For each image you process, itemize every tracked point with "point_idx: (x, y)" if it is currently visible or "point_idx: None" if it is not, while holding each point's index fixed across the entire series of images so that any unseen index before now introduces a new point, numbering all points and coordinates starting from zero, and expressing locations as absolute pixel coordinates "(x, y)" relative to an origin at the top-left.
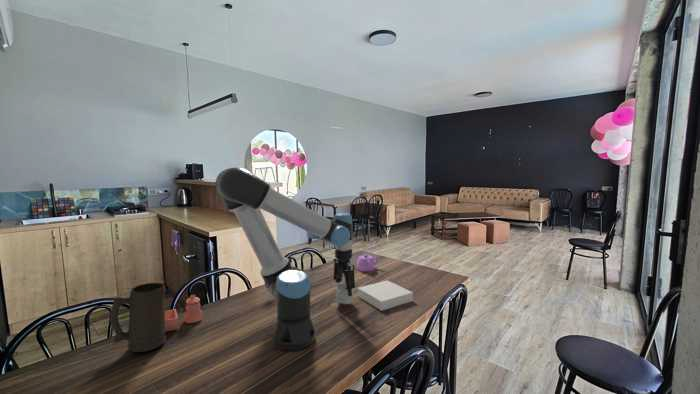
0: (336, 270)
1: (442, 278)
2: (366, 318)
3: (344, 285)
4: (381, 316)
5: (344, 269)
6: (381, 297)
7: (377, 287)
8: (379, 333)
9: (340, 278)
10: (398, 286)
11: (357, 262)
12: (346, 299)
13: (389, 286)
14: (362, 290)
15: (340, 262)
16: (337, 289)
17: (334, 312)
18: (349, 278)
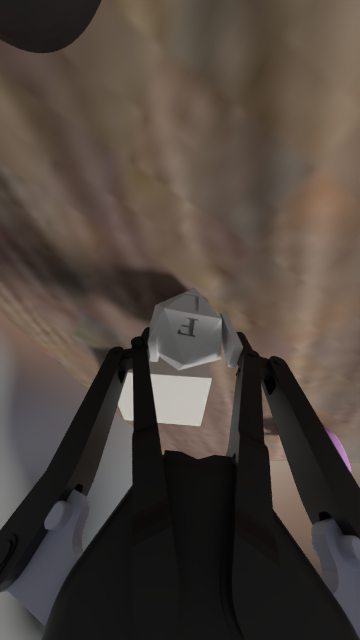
0: (289, 419)
1: (176, 450)
2: (89, 310)
3: (175, 352)
4: (89, 339)
5: (133, 475)
6: (125, 381)
7: (181, 402)
8: (8, 292)
9: (237, 377)
10: (161, 421)
11: (337, 446)
12: (153, 314)
13: (171, 414)
14: (188, 377)
15: (230, 613)
16: (193, 318)
17: (157, 255)
18: (84, 399)
